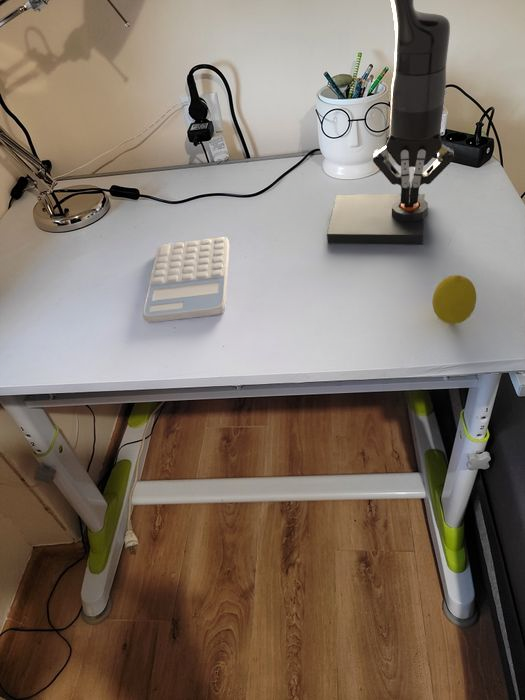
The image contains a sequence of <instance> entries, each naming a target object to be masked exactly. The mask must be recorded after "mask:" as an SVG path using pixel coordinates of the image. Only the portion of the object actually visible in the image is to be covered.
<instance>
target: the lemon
mask: <svg viewBox="0 0 525 700" xmlns="http://www.w3.org/2000/svg"><path fill="white" fill-rule="evenodd" d="M476 304H477V291H476V287H475V285H474V284H473V282H472V281H471V280H470V279H469V278H468V277H466V276H464V275H461V274H459V275H458V274H454V275H449V276H447V277H445V278H443V279H442V280H441V281H440V282H439V283H438V284H437V286H436V287H435V290H434V292H433V295H432V309H433V313H434V314H435V316H436V317H437V318H438V320H440V321H442V322H443V323H445V324H451V325H456V324H460V323H463V322H465V321H466V320H468V319H469V318H470V317H471V315H472V314H473V313H474V310H475V308H476Z"/></svg>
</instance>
